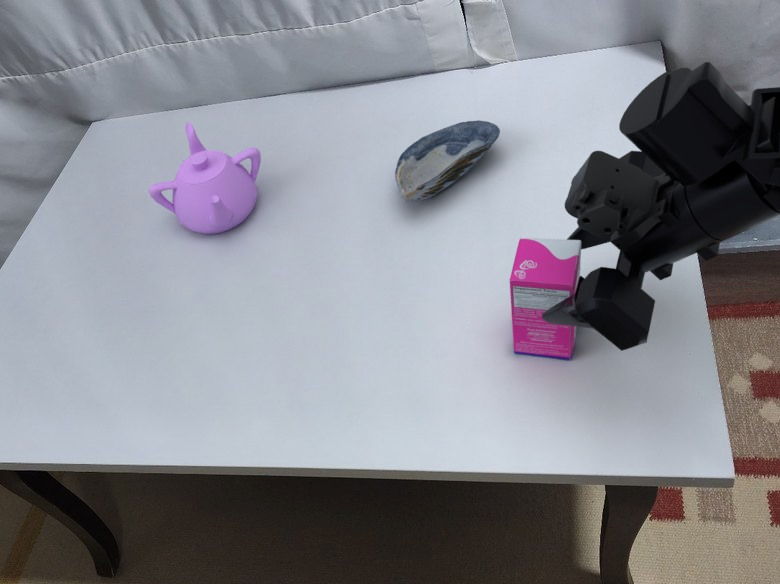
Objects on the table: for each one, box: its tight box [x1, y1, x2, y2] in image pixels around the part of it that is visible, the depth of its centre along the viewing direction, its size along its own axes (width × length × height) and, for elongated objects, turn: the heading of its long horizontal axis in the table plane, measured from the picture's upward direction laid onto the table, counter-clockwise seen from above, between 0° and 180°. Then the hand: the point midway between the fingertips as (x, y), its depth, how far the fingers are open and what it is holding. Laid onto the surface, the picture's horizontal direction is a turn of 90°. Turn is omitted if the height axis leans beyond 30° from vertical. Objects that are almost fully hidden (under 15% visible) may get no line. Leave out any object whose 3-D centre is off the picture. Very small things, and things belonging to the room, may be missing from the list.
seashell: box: [394, 120, 501, 203], centre depth 94 cm, size 15×12×5 cm
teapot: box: [148, 122, 262, 235], centre depth 99 cm, size 12×14×9 cm
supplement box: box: [509, 236, 582, 361], centre depth 73 cm, size 6×6×12 cm
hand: (556, 282), depth 71 cm, fingers open, 9 cm apart
